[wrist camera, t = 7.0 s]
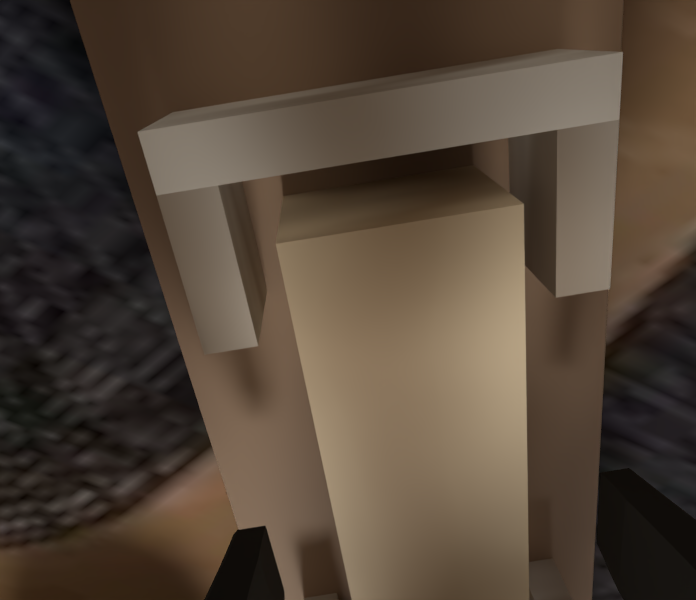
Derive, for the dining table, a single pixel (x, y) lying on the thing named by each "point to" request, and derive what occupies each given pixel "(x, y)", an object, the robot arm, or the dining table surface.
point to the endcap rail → (355, 168)
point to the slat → (417, 378)
